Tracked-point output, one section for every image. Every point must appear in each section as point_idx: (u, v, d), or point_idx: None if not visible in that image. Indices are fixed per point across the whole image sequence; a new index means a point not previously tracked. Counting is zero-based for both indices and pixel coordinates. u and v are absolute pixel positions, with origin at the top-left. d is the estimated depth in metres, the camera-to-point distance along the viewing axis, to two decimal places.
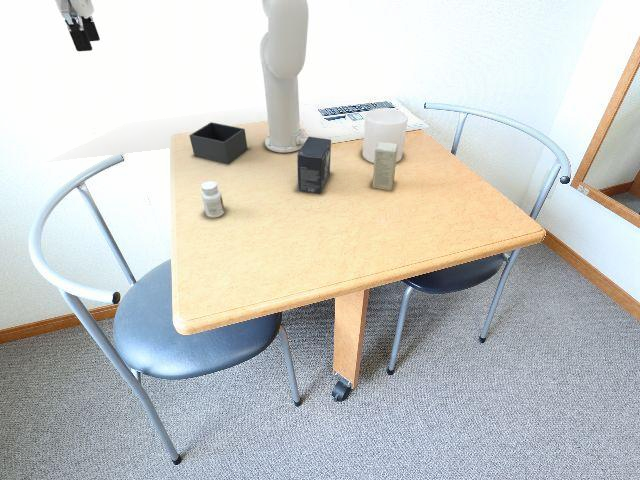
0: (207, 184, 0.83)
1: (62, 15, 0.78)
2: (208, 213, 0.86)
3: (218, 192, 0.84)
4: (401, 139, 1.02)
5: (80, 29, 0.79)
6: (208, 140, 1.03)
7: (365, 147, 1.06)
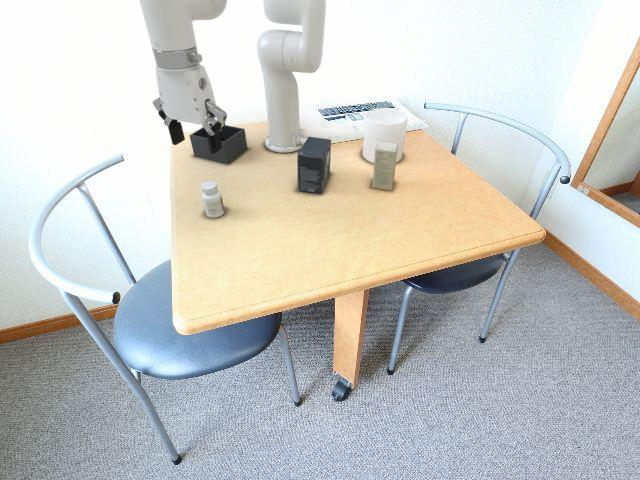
0: (207, 184, 0.83)
1: (203, 121, 0.70)
2: (208, 213, 0.86)
3: (218, 192, 0.84)
4: (401, 139, 1.02)
5: (220, 130, 0.73)
6: None
7: (365, 147, 1.06)
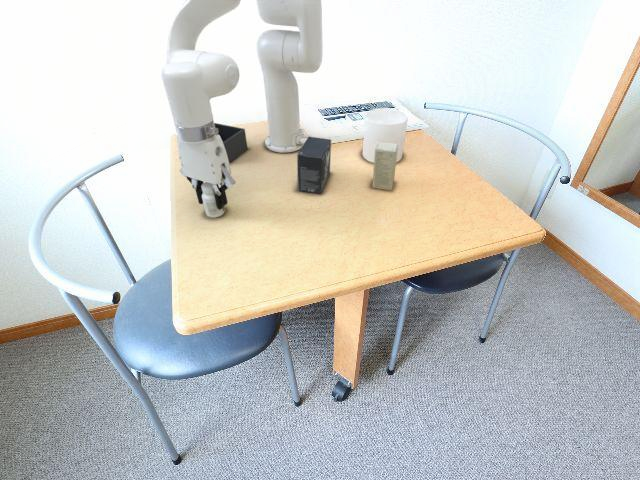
0: (207, 184, 0.83)
1: (219, 182, 0.78)
2: (208, 213, 0.86)
3: None
4: (401, 139, 1.02)
5: (225, 190, 0.83)
6: None
7: (365, 147, 1.06)
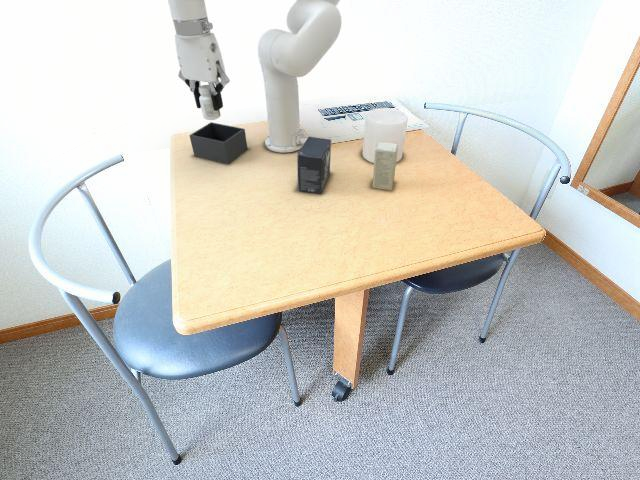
0: (203, 86, 0.91)
1: (215, 79, 0.86)
2: (205, 116, 0.94)
3: None
4: (401, 139, 1.02)
5: (220, 91, 0.91)
6: (208, 140, 1.03)
7: (365, 147, 1.06)
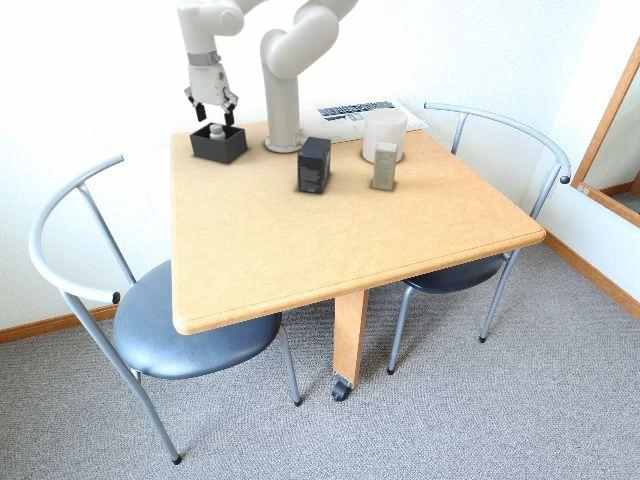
0: (214, 125, 1.06)
1: (222, 103, 0.98)
2: None
3: (223, 132, 1.07)
4: (401, 139, 1.02)
5: (233, 109, 1.01)
6: (208, 140, 1.03)
7: (365, 147, 1.06)
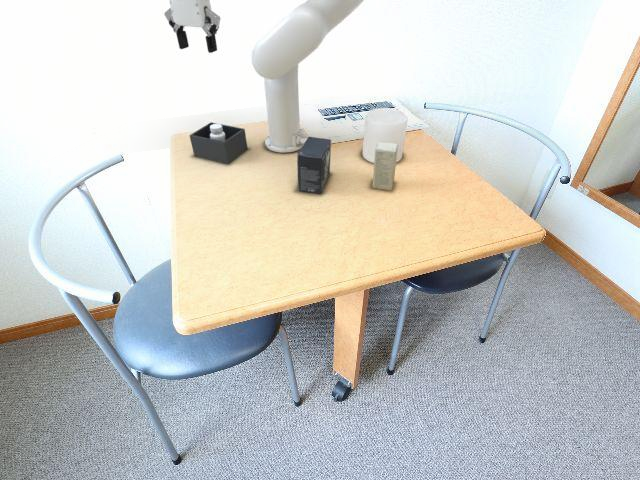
0: (214, 125, 1.06)
1: (203, 23, 0.94)
2: None
3: (223, 132, 1.07)
4: (401, 139, 1.02)
5: (215, 33, 0.97)
6: (208, 140, 1.03)
7: (365, 147, 1.06)
